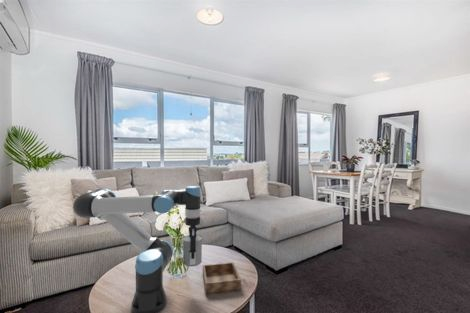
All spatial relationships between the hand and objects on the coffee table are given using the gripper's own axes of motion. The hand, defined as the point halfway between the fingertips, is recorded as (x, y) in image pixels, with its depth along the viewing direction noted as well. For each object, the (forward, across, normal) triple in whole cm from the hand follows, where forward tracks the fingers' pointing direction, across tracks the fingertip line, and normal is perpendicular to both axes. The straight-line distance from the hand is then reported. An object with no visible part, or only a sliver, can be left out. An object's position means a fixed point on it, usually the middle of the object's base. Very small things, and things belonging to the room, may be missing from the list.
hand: (192, 259), depth 120 cm
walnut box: (+15, +3, -15) cm, 22 cm away
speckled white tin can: (+1, 0, 0) cm, 1 cm away
